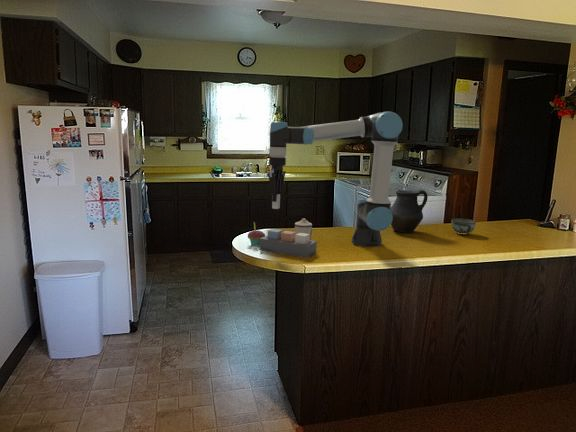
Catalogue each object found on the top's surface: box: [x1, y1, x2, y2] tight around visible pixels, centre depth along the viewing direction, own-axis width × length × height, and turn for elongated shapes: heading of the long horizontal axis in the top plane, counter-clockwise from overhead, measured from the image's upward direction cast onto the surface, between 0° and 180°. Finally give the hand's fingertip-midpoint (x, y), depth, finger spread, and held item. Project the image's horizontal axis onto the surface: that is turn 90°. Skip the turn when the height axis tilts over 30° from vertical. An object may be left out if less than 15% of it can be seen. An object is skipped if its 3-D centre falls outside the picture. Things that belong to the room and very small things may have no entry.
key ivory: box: [295, 233, 310, 245], centre depth 198 cm, size 5×5×5 cm
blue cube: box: [267, 228, 283, 240], centre depth 204 cm, size 5×5×5 cm
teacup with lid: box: [294, 218, 313, 240], centre depth 223 cm, size 12×9×12 cm
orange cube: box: [281, 230, 296, 242], centre depth 201 cm, size 5×5×5 cm
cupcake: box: [247, 221, 266, 247], centre depth 211 cm, size 9×8×12 cm
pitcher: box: [390, 189, 428, 234], centre depth 253 cm, size 21×22×25 cm
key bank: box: [259, 235, 318, 259], centre depth 202 cm, size 24×10×6 cm, turn 64°
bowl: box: [451, 217, 477, 234], centre depth 254 cm, size 14×13×8 cm
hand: (275, 208), depth 202 cm, fingers closed
